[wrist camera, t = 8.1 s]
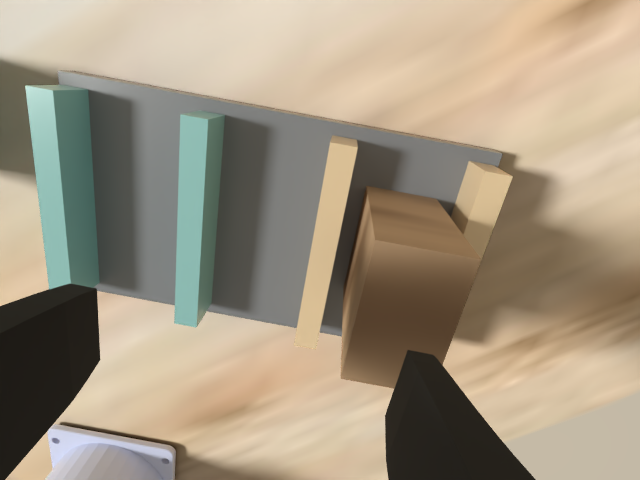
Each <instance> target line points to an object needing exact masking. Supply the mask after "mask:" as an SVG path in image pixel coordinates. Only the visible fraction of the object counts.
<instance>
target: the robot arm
mask: <svg viewBox="0 0 640 480" xmlns="http://www.w3.org/2000/svg"><path fill="white" fill-rule="evenodd" d="M99 361H100V347H99V326H98V304H97V289H96V288H91V287H86V286H81V285H76V284H71V283H70V284H66V285H63V286H59V287H56V288H52V289H49V290H46V291H43V292H40V293H37V294H34V295H31V296H28V297H25V298H23V299H20V300H17V301H14V302H11V303H8V304H5V305H3V306H0V480H5V479H6V478H7V477H8V476H9V474H10V473H11V472H12V471H13V470H14V469H15V468H16V466H17V465H18V464H19V463H20V462H21V461H22V459H23V458H24V457H25V456H26V455H27V454H28V453H29V451H30V450H31V449H32V448H33V447H34V446H35V444H36V443H37V442H38V441H39V440H40V439H41V438H42V436H43V435H44V434H45V433H46V432H47V431H48V439H49V446H50V453H51V460H52V467H53V470H52V471H51V472H50V474H49V475H48V476H47V477H46V479H45V480H175V458H176V451H175V449H174V448H173V447H172V446H170V445H166V444H160V443H155V442H149V441H144V440H139V439H133V438H128V437H123V436H117V435H112V434H106V433H101V432H96V431H90V430H85V429H80V428H74V427H69V426H64V425H53V424H54V422H55V421H56V420H57V419H58V418H59V416H60V415H61V414H62V413H63V412H64V411H65V409H66V408H67V407H68V406H69V405H70V403H71V402H72V401H73V400H74V398H75V397H76V395H77V394H78V393H79V391H80V390H81V388H82V387H83V385H84V384H85V382H86V381H87V379H88V378H89V376H90V375H91V373H92V372H93V370H94V369H95V367H96V365H97V364H98V362H99ZM52 425H53V426H52ZM51 426H52V427H51ZM50 427H51V428H50ZM49 428H50V429H49ZM385 428H386V462H387V471H388V478H389V480H535V479H534V477H533V476H532V475H531V474H530V473H529V472H528V471H527V470H526V468H525V467H524V466H523V465H522V464H521V463H520V462H519V460H518V459H517V458H516V457H515V456H514V455H513V454H512V452H511V451H510V450H509V449H508V448H507V446H506V445H505V444H504V443H503V442H502V440H501V439H500V438H499V437H498V436H497V434H496V433H495V432H494V431H493V430H492V428H491V427H490V426H489V425H488V423H487V422H486V421H485V420H484V418H483V417H482V416H481V415H480V413H479V412H478V411H477V410H476V408H475V407H474V406H473V404H472V403H471V402H470V401H469V399H468V398H467V397H466V395H465V394H464V393H463V391H462V390H461V389H460V388H459V386H458V385H457V384H456V382H455V381H454V380H453V378H452V377H451V376H450V375H449V373H448V372H447V371H446V369H445V368H444V367H443V365H442V364H441V363H440V362H439V360H438V359H437V358H436V357H435V356H434V355H432V354H427V353H422V352H417V351H412V350H407V353H406V356H405V359H404V362H403V365H402V368H401V371H400V374H399V377H398V380H397V383H396V386H395V389H394V392H393V394H392V397H391V400H390V403H389V406H388V409H387V412H386V415H385ZM48 429H49V430H48Z"/></svg>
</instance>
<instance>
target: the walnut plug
mask: <svg viewBox="0 0 640 480" xmlns="http://www.w3.org/2000/svg"><path fill="white" fill-rule="evenodd" d="M480 263H481V258H480V257H479V255H478V254H477V253H476V251H475V250H474V249H473V247H472V246H471V245H470V243H469V242H468V241H467V239H466V238H465V237H464V235H463V234H462V233H461V231H460V230H459V229H458V227H457V226H456V224H455V223H454V222H453V220H452V219H451V218H450V216H449V215H448V214H447V212H446V211H445V210H444V208H443V207H442V206H441V204H440V203H439V202H438V200H437V199H435V198H430V197H424V196H419V195H413V194H408V193H403V192H397V191H392V190H387V189H381V188H376V187H371V186H366V189H365V194H364V198H363V203H362V207H361V212H360V216H359V221H358V225H357V229H356V234H355V238H354V243H353V247H352V252H351V256H350V261H349V265H348V270H347V274H346V278H345V283H344V287H343V319H342V354H341V379H346V380H352V381H357V382H362V383H368V384H373V385H378V386H384V387H389V388H395V386H396V383H397V380H398V377H399V374H400V371H401V368H402V365H403V362H404V359H405V356H406V353H407V350H412V351H417V352H422V353H427V354H432V355H434V356H435V357H436V358H437V359H438V360H439V362H440V363H441V364H443V362H444V359H445V356H446V354H447V351H448V348H449V346H450V343H451V340H452V338H453V335H454V332H455V330H456V327H457V324H458V322H459V319H460V316H461V314H462V311H463V308H464V306H465V303H466V300H467V298H468V295H469V292H470V290H471V287H472V284H473V282H474V279H475V276H476V274H477V271H478V268H479V266H480Z"/></svg>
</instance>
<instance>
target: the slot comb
mask: <svg viewBox="0 0 640 480" xmlns="http://www.w3.org/2000/svg"><path fill="white" fill-rule="evenodd" d="M58 80H59V85H25V89H26V97H27V105H28V114H29V122H30V131H31V139H32V148H33V156H34V164H35V173H36V181H37V190H38V198H39V206H40V215H41V223H42V232H43V240H44V249H45V257H46V265H47V274H48V282H49V289H52V288H56V287H59V286H63V285H66V284H70V283H71V284H76V285H81V286H86V287H91V288H96V289H97V291H101V292H107V293H112V294H117V295H123V296H128V297H134V298H139V299H144V300H150V301H155V302H160V303H166V304H171V305H175V321H174V323H176V324H181V325H187V326H192V327H197V326H198V324H199V323H200V321H201V319H202V318H203V316H204V315H205V313H206V311H209V312H214V313H219V314H225V315H230V316H235V317H241V318H246V319H251V320H257V321H262V322H267V323H273V324H278V325H284V326H289V327H294V328H297V330H296V336H295V341H294V346H299V347H304V348H310V349H315V350H316V346H317V342H318V337H319V332H321V333H326V334H332V335H337V336H342V319H343V287H344V283H345V278H346V274H347V270H348V265H349V261H350V256H351V252H352V247H353V243H354V238H355V234H356V229H357V225H358V221H359V216H360V212H361V207H362V203H363V198H364V194H365V189H366V186H371V187H376V188H381V189H387V190H392V191H397V192H403V193H408V194H413V195H419V196H424V197H430V198H435V199H437V200H438V202H439V203H440V204H441V206H442V207H443V208H444V210H445V211H446V212H447V214H448V215H449V216H450V218H451V219H452V220H453V222H454V223H455V224H456V226H457V227H458V229H459V230H460V231H461V233H462V234H463V235H464V237H465V238H466V239H467V241H468V242H469V243H470V245H471V246H472V247H473V249H474V250H475V251H476V253H477V254H478V255H479V257H480V258H481V260H482V258H483V255H484V252H485V250H486V247H487V244H488V242H489V239H490V236H491V234H492V231H493V228H494V226H495V223H496V220H497V218H498V215H499V212H500V210H501V207H502V204H503V202H504V199H505V196H506V194H507V191H508V188H509V186H510V183H511V180H512V178H513V176H511V175H509V174H508V173H506V172H504V171H503V170H501V169H499V168H498V166H499V163H500V160H501V157H502V153H500V152H498V151H496V150H493V149H488V148H482V147H477V146H472V145H466V144H461V143H456V142H450V141H445V140H440V139H434V138H429V137H424V136H418V135H413V134H407V133H402V132H397V131H391V130H386V129H381V128H375V127H370V126H365V125H359V124H354V123H349V122H343V121H338V120H333V119H327V118H322V117H317V116H311V115H306V114H301V113H295V112H290V111H285V110H279V109H274V108H269V107H263V106H258V105H252V104H247V103H242V102H236V101H231V100H226V99H220V98H215V97H210V96H204V95H199V94H194V93H188V92H183V91H178V90H172V89H167V88H162V87H156V86H151V85H146V84H140V83H135V82H130V81H124V80H119V79H114V78H108V77H103V76H98V75H92V74H87V73H81V72H76V71H58ZM466 301H467V300H466ZM463 309H464V308H463ZM460 317H461V316H460ZM457 325H458V324H457ZM454 333H455V332H454ZM451 341H452V340H451ZM448 349H449V348H448ZM445 357H446V356H445ZM442 365H443V364H442Z"/></svg>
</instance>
